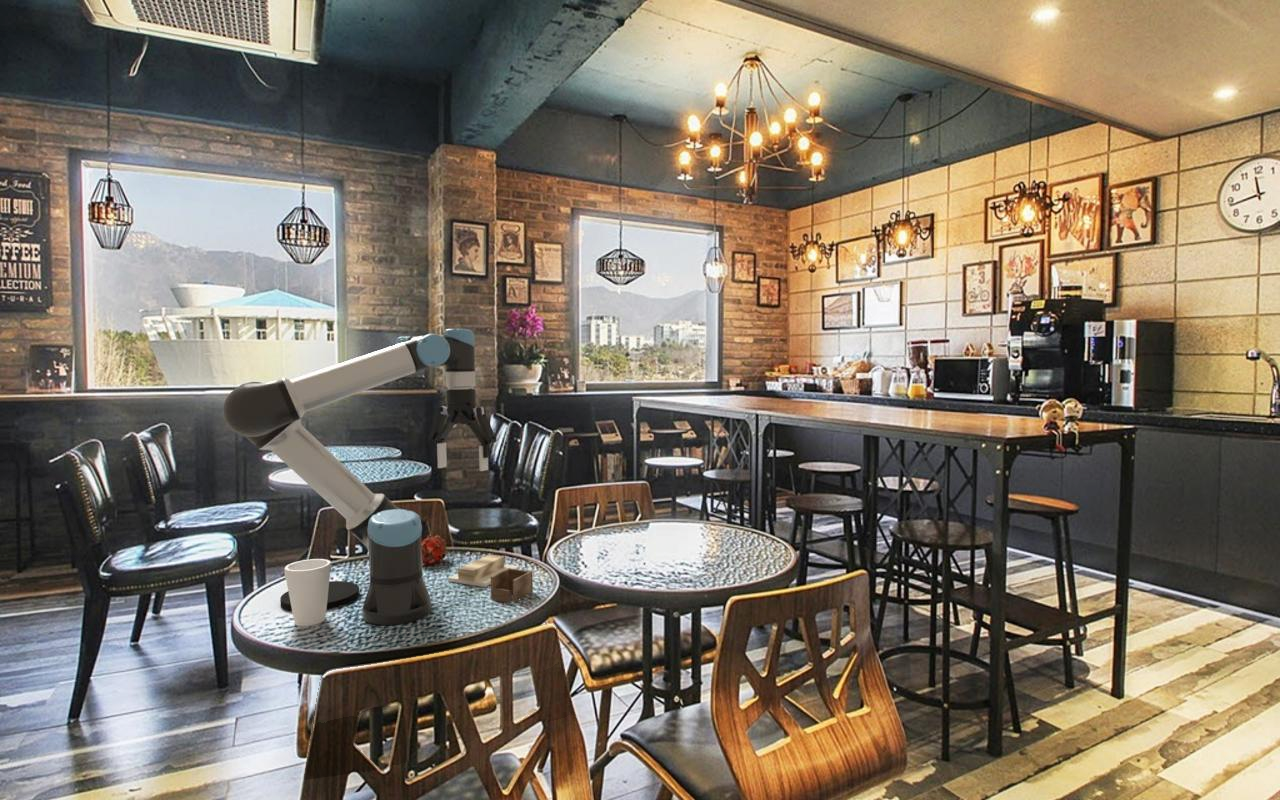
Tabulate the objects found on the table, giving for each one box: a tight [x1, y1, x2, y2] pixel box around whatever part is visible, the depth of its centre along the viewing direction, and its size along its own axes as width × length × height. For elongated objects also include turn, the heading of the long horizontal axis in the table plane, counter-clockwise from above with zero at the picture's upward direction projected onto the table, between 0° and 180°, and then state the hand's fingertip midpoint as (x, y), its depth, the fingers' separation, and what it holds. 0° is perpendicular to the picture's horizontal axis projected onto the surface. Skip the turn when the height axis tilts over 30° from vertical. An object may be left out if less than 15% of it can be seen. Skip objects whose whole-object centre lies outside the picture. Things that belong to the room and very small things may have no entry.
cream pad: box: [447, 563, 521, 588], centre depth 187 cm, size 16×12×1 cm
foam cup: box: [284, 558, 332, 627], centre depth 155 cm, size 10×9×13 cm
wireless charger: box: [279, 580, 360, 613], centre depth 170 cm, size 18×18×2 cm
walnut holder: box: [490, 568, 534, 604], centre depth 170 cm, size 9×7×6 cm
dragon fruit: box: [422, 535, 449, 567], centre depth 199 cm, size 8×8×12 cm
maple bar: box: [457, 554, 505, 582], centre depth 186 cm, size 14×5×3 cm, turn 157°
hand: (462, 469), depth 179 cm, fingers open, 13 cm apart
